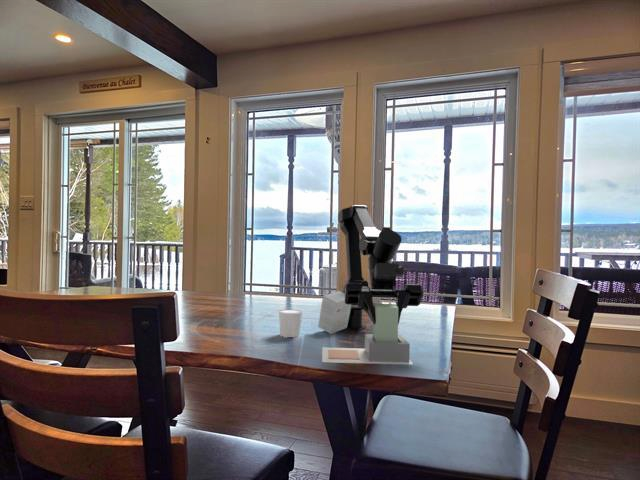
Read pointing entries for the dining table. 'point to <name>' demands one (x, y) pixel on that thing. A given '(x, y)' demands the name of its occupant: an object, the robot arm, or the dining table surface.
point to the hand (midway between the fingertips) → (386, 323)
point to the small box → (334, 313)
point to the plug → (386, 323)
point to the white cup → (290, 323)
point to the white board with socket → (371, 352)
